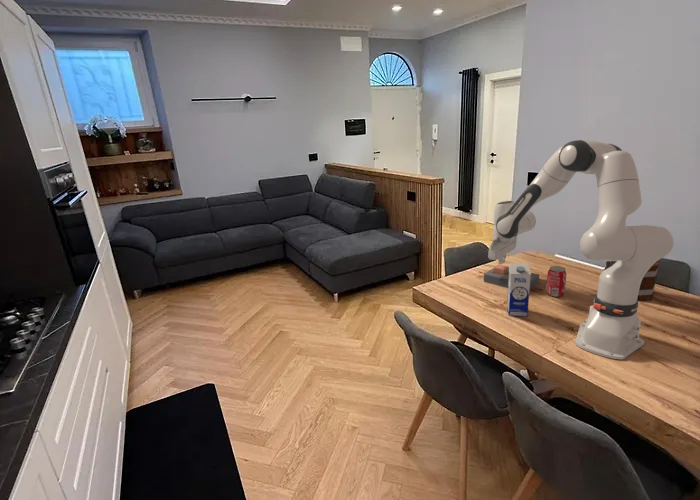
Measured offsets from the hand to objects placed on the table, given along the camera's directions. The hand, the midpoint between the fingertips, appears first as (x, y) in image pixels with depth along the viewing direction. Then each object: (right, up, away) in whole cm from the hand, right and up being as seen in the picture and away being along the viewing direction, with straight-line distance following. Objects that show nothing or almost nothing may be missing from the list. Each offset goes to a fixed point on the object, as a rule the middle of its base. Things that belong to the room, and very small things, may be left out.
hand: (501, 263), depth 178 cm
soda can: (+17, -13, -16) cm, 26 cm away
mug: (+45, -11, -19) cm, 50 cm away
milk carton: (-5, -19, -28) cm, 34 cm away
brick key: (0, -5, +1) cm, 5 cm away
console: (+4, -9, -1) cm, 10 cm away
